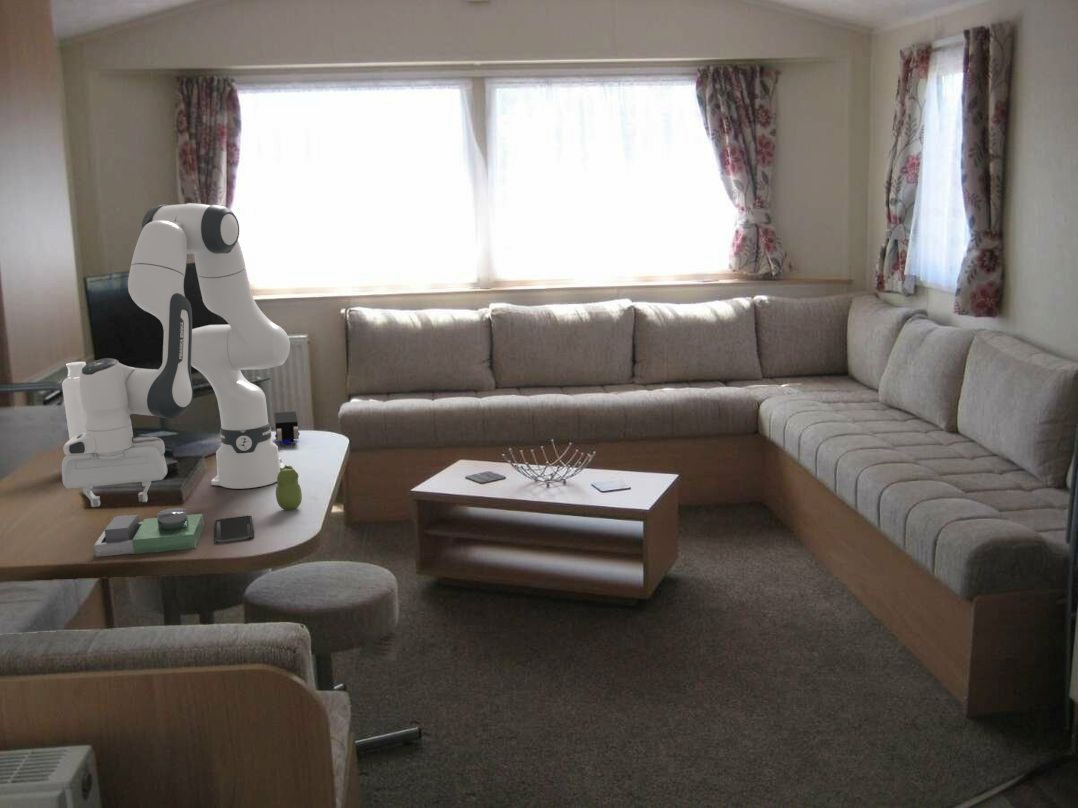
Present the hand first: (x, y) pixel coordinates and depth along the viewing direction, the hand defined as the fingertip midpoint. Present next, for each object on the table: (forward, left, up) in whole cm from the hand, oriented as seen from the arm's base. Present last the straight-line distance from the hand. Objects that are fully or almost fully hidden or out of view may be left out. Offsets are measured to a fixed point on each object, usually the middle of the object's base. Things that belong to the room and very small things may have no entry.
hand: (119, 503), depth 231 cm
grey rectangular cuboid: (0, 0, -9) cm, 9 cm away
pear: (-13, +33, -9) cm, 37 cm away
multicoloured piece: (+1, +5, -9) cm, 10 cm away
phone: (-2, +22, -9) cm, 24 cm away
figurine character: (-79, +29, -9) cm, 85 cm away
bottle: (-68, -22, -9) cm, 72 cm away
